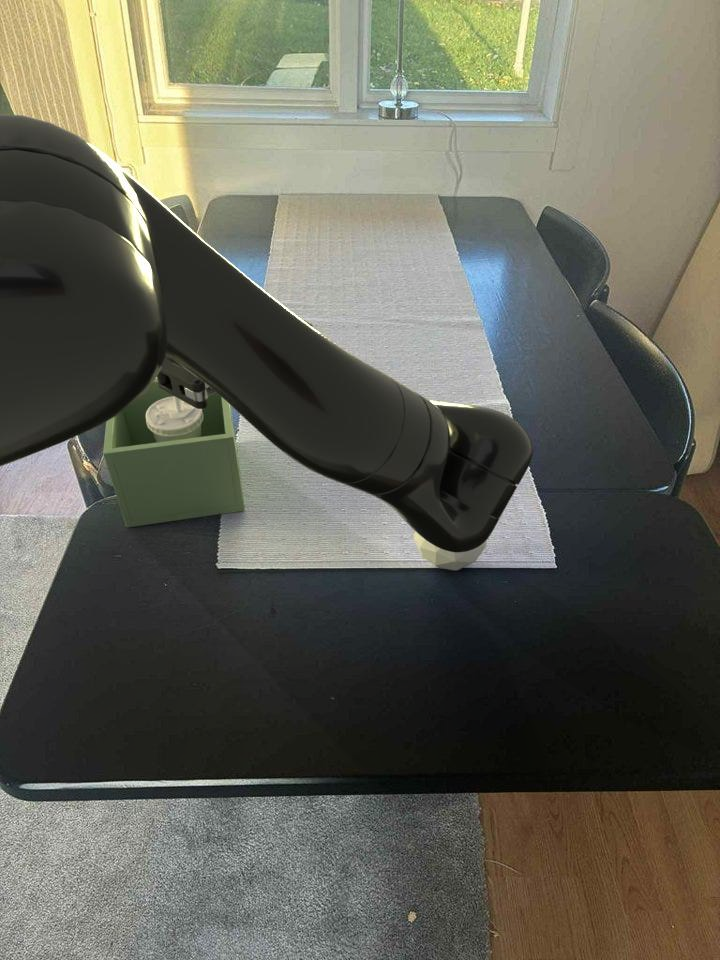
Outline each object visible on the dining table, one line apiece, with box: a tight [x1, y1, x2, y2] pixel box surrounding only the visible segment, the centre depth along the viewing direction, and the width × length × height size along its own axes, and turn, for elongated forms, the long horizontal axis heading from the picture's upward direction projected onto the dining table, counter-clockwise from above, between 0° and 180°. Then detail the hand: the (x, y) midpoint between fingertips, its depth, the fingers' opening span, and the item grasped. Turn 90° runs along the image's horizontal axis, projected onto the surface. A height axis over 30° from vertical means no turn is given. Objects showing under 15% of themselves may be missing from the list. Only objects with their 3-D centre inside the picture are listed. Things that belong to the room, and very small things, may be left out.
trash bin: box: [102, 377, 246, 529], centre depth 83 cm, size 14×14×11 cm
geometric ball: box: [413, 531, 488, 572], centre depth 75 cm, size 8×8×8 cm
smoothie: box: [146, 396, 203, 443], centre depth 81 cm, size 6×6×14 cm
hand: (188, 326), depth 67 cm, fingers open, 8 cm apart
